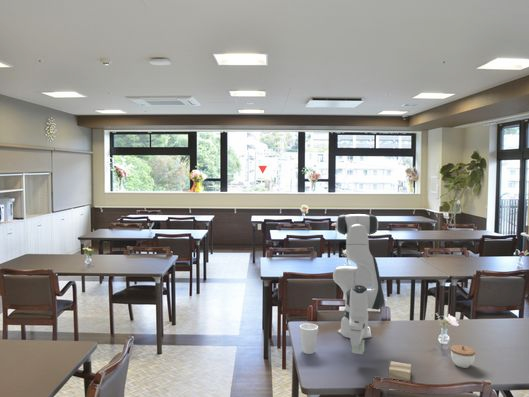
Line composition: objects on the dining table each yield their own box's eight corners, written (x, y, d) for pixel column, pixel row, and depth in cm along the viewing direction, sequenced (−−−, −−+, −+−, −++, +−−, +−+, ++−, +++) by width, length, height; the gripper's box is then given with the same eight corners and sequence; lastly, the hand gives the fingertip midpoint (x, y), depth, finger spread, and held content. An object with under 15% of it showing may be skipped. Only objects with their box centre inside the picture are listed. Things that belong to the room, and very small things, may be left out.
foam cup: (316, 356, 217) (317, 330, 217) (298, 354, 219) (298, 329, 219) (318, 348, 227) (318, 324, 226) (300, 347, 229) (301, 322, 228)
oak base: (390, 369, 203) (390, 361, 203) (410, 372, 200) (411, 364, 200) (388, 377, 195) (388, 369, 195) (409, 381, 192) (410, 372, 191)
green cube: (353, 348, 212) (353, 338, 212) (364, 349, 211) (364, 340, 210) (351, 352, 208) (352, 342, 207) (362, 354, 206) (362, 344, 205)
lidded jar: (473, 372, 201) (473, 352, 201) (448, 366, 207) (449, 347, 207) (475, 363, 211) (476, 344, 210) (452, 358, 216) (452, 340, 216)
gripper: (355, 312, 218) (355, 338, 220) (348, 326, 199) (347, 355, 201) (368, 313, 216) (367, 340, 217) (362, 328, 197) (361, 357, 198)
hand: (358, 347), depth 209 cm, fingers closed on green cube, 5 cm apart
